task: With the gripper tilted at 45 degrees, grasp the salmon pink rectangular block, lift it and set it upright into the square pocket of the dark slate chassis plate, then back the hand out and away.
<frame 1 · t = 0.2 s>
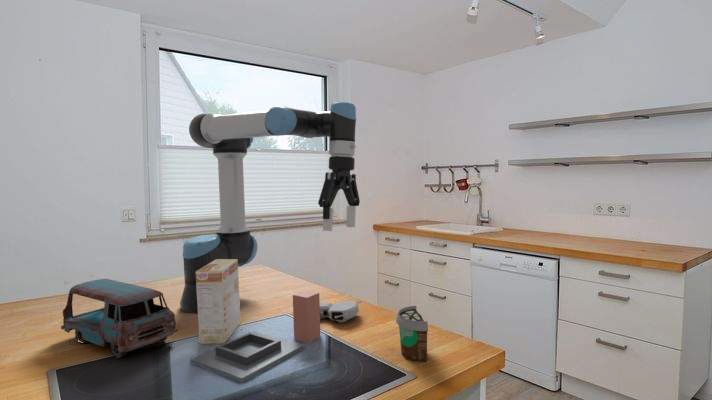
hand: (339, 228, 125), 27 cm above the counter, tool pointing down, fingers open, 13 cm apart
salmon pink rectangular block: (307, 337, 114), on the counter
food container: (409, 354, 102), on the counter
toy van: (120, 342, 114), on the counter
coffeecake box: (221, 333, 118), on the counter
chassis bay: (249, 355, 103), on the counter
robot toy: (334, 319, 129), on the counter
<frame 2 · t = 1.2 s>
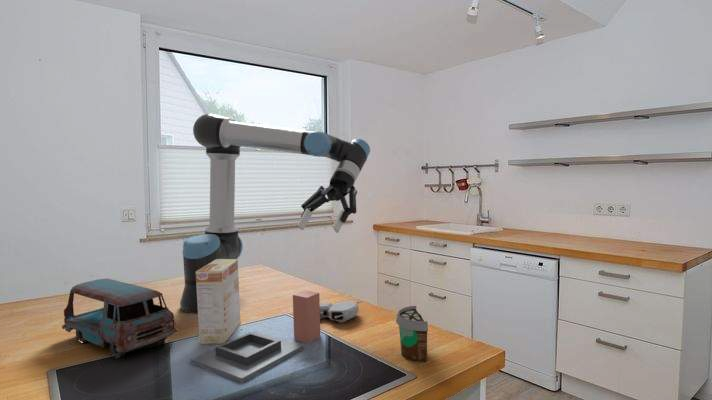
hand: (317, 228, 128), 27 cm above the counter, tool tilted 45°, fingers open, 13 cm apart
nothing on the counter moved.
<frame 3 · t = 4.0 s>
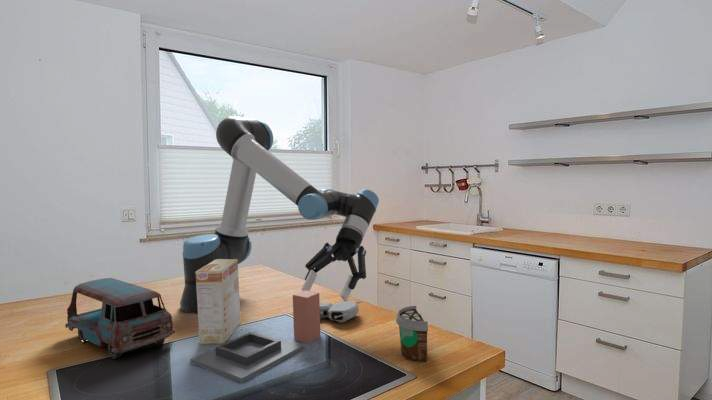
hand: (323, 295, 117), 10 cm above the counter, tool tilted 45°, fingers open, 13 cm apart
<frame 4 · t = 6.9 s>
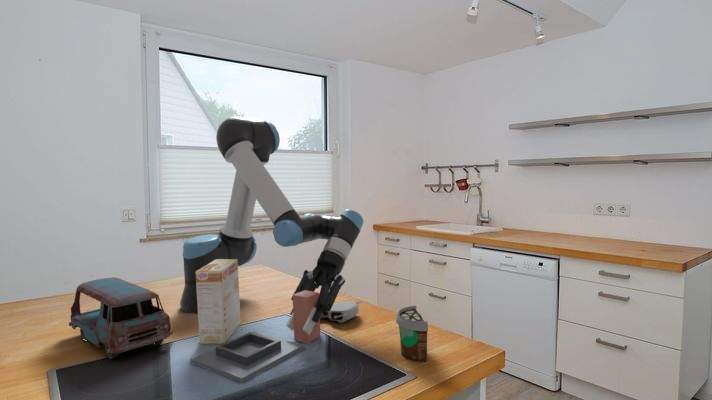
hand: (297, 330, 111), 3 cm above the counter, tool tilted 45°, fingers closed on salmon pink rectangular block, 5 cm apart
salmon pink rectangular block: (307, 337, 114), on the counter, touching gripper
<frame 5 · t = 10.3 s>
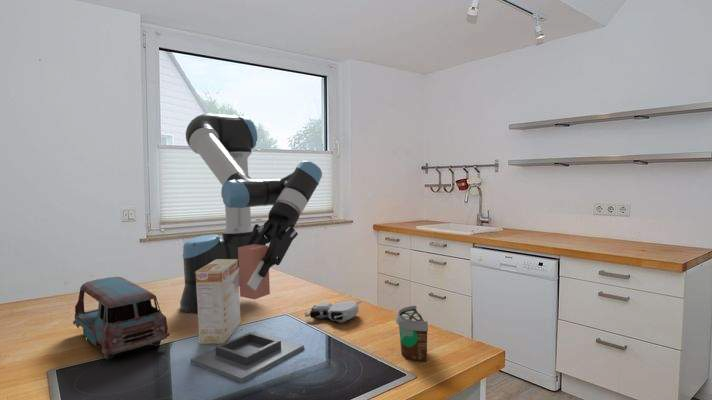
hand: (242, 285, 100), 18 cm above the counter, tool tilted 45°, fingers closed on salmon pink rectangular block, 5 cm apart
salmon pink rectangular block: (255, 295, 103), point 15 cm above the counter, touching gripper
when the fingers open (6 cm above the counter, at t = 13.6 s): salmon pink rectangular block drops 1 cm, resting on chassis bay.
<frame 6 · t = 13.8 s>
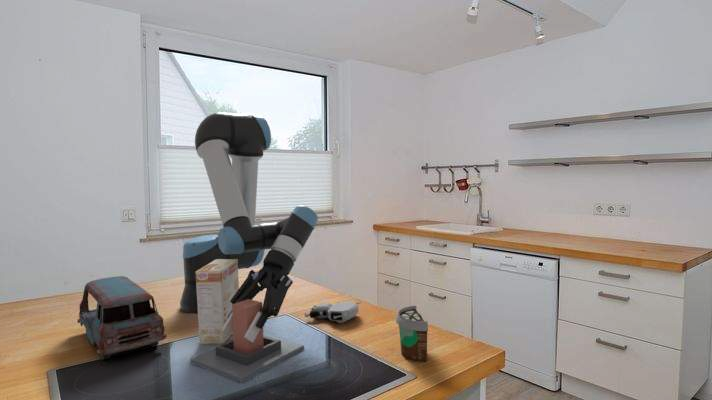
hand: (236, 336, 100), 6 cm above the counter, tool tilted 45°, fingers open, 7 cm apart
salmon pink rectangular block: (248, 351, 103), point 1 cm above the counter, touching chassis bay
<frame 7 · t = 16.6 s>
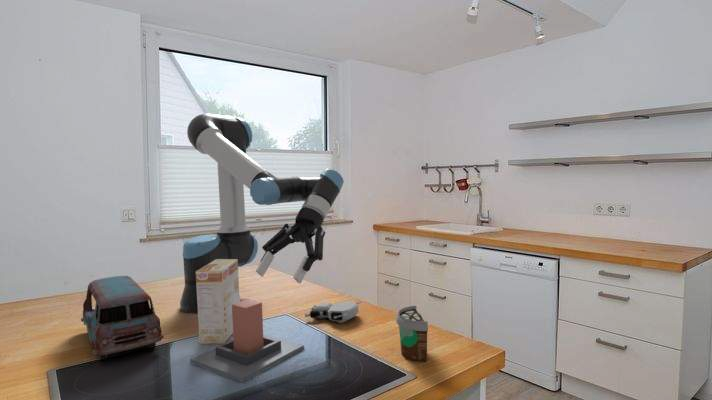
hand: (277, 277, 111), 17 cm above the counter, tool tilted 45°, fingers open, 13 cm apart
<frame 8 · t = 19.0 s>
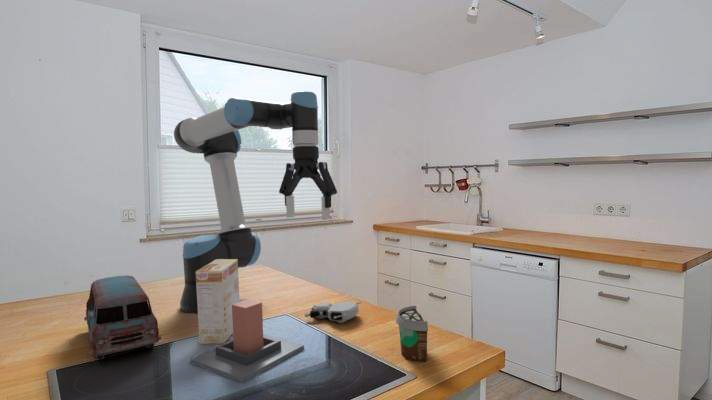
hand: (307, 218, 125), 31 cm above the counter, tool pointing down, fingers open, 13 cm apart
at the end: salmon pink rectangular block 0.0 cm off-centre on the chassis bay, point 1.0 cm above the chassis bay's base; salmon pink rectangular block tilted 0°; the gripper is holding nothing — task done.
